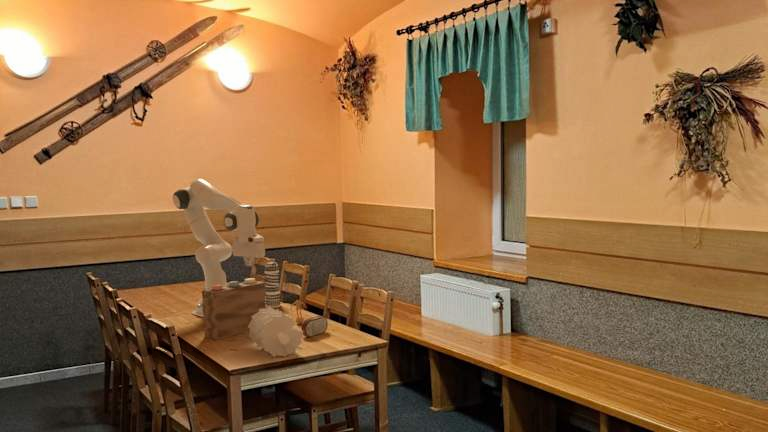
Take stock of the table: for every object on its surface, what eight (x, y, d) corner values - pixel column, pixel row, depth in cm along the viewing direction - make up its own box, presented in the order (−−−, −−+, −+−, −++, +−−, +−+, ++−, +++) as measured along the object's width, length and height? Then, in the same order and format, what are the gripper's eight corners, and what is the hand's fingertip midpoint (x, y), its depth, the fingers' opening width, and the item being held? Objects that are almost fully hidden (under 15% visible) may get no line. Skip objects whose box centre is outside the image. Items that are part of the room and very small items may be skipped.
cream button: (242, 284, 338) (242, 279, 337) (250, 282, 342) (250, 277, 341) (249, 285, 335) (249, 280, 334) (257, 283, 339) (256, 278, 338)
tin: (324, 331, 326) (323, 313, 325) (329, 332, 324) (328, 314, 323) (301, 338, 314) (300, 320, 314) (306, 339, 312) (305, 320, 312)
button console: (204, 336, 323) (202, 290, 321) (252, 323, 347) (250, 280, 345) (218, 339, 317) (215, 292, 315) (266, 326, 341) (264, 282, 339)
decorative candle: (278, 308, 384) (276, 263, 382) (262, 307, 386) (260, 263, 384) (283, 304, 393) (281, 261, 391) (268, 304, 395) (266, 261, 393)
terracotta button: (209, 291, 322) (209, 286, 322) (218, 289, 326) (218, 284, 326) (216, 292, 319) (216, 286, 319) (225, 290, 323) (224, 285, 323)
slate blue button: (226, 287, 330) (226, 282, 330) (234, 286, 334) (234, 281, 333) (233, 288, 327) (233, 283, 326) (241, 286, 331) (241, 281, 330)
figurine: (293, 325, 339) (292, 302, 338) (289, 323, 344) (288, 299, 344) (309, 323, 342) (308, 300, 342) (305, 321, 348) (304, 298, 347)
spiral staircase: (275, 369, 280) (257, 352, 302) (311, 345, 287) (290, 330, 309) (255, 333, 275) (238, 318, 297) (292, 309, 281) (272, 297, 303)
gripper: (228, 237, 340) (230, 265, 341) (256, 239, 328) (258, 267, 329) (238, 236, 345) (240, 263, 346) (266, 237, 333) (268, 266, 334)
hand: (249, 265), depth 337 cm, fingers closed
